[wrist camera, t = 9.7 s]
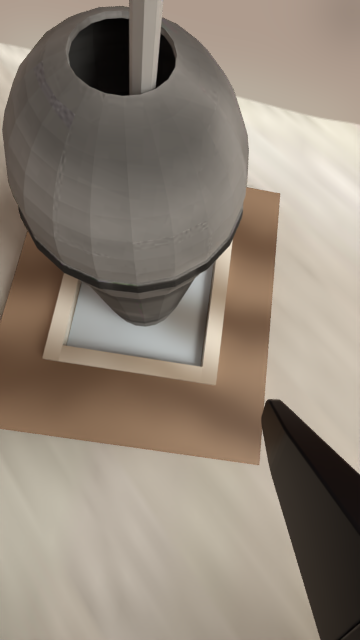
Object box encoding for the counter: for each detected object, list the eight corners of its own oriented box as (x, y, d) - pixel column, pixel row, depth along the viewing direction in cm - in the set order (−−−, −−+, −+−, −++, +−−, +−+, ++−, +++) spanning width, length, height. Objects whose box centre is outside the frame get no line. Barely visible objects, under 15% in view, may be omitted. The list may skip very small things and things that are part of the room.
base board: (253, 460, 20) (263, 468, 18) (-19, 422, 19) (-39, 426, 17) (274, 202, 25) (284, 186, 23) (56, 162, 24) (47, 142, 22)
